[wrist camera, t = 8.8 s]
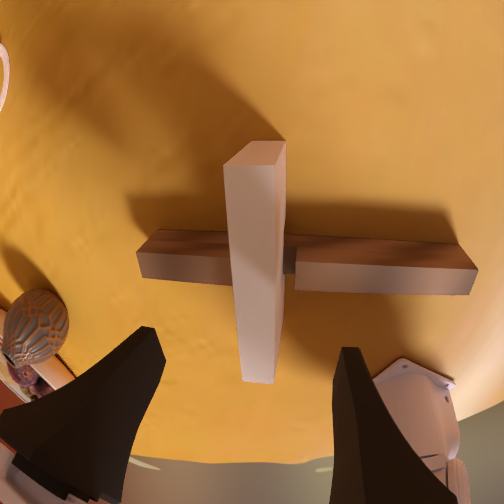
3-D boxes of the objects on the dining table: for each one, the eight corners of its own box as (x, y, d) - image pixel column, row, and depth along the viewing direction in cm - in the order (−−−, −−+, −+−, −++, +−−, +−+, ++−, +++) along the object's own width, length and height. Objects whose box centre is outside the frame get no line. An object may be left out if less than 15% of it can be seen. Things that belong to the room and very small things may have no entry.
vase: (29, 268, 24) (-23, 319, 17) (76, 297, 24) (23, 360, 17) (37, 311, 28) (-4, 359, 20) (80, 338, 28) (41, 395, 20)
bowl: (80, 422, 48) (66, 448, 41) (-19, 331, 40) (-38, 354, 34) (128, 402, 34) (106, 446, 27) (-23, 256, 27) (-59, 287, 20)
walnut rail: (459, 244, 16) (478, 269, 13) (452, 268, 16) (468, 295, 14) (157, 229, 19) (135, 252, 16) (162, 253, 20) (142, 277, 17)
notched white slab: (283, 315, 21) (273, 384, 16) (258, 314, 21) (242, 381, 16) (285, 140, 15) (275, 165, 10) (252, 140, 15) (223, 165, 10)
